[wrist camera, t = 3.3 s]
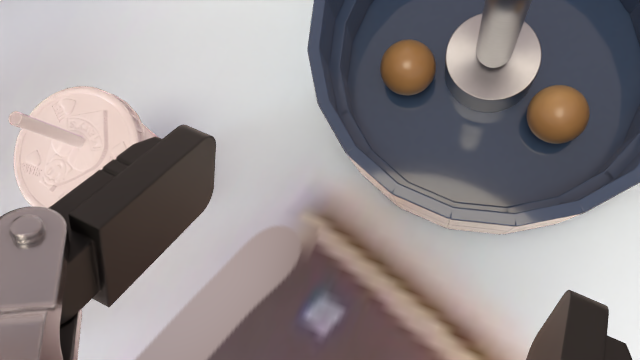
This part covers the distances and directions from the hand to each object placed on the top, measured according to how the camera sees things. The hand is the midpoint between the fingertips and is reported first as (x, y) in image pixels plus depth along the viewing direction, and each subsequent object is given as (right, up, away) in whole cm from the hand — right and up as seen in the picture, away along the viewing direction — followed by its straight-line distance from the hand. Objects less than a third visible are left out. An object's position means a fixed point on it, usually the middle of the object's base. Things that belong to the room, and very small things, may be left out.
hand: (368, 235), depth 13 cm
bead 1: (+4, +7, +19) cm, 21 cm away
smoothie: (-10, +1, +24) cm, 26 cm away
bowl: (+9, +7, +21) cm, 24 cm away
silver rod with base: (+8, +7, +20) cm, 23 cm away
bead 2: (+11, +5, +18) cm, 21 cm away
